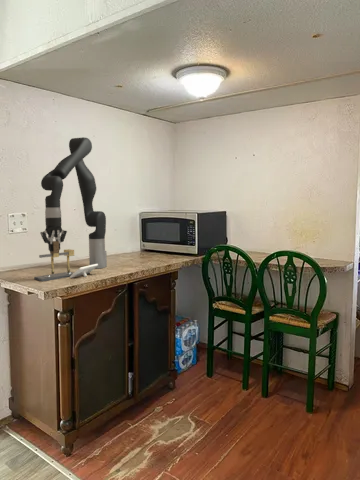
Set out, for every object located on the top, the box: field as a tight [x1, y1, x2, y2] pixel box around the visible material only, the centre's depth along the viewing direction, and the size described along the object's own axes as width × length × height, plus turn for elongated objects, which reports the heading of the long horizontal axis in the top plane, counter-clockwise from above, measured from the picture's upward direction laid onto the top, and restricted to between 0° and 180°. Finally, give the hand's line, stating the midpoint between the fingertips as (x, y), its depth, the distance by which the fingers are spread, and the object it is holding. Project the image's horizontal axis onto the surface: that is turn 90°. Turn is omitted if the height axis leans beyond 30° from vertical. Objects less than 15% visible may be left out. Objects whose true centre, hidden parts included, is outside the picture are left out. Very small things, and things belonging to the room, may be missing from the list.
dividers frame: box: [38, 248, 75, 273], centre depth 189 cm, size 18×5×12 cm, turn 139°
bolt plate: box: [33, 271, 75, 282], centre depth 191 cm, size 20×8×2 cm, turn 139°
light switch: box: [69, 264, 98, 279], centre depth 195 cm, size 8×5×14 cm
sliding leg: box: [49, 240, 60, 274], centre depth 188 cm, size 3×5×17 cm, turn 49°
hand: (54, 250), depth 187 cm, fingers closed on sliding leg, 3 cm apart
